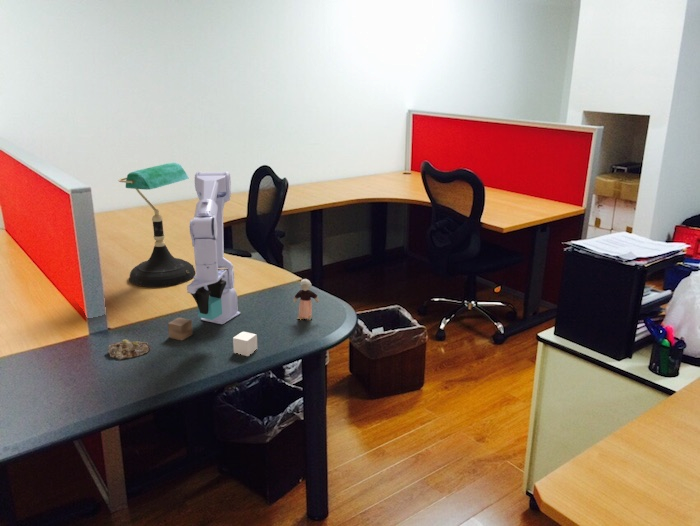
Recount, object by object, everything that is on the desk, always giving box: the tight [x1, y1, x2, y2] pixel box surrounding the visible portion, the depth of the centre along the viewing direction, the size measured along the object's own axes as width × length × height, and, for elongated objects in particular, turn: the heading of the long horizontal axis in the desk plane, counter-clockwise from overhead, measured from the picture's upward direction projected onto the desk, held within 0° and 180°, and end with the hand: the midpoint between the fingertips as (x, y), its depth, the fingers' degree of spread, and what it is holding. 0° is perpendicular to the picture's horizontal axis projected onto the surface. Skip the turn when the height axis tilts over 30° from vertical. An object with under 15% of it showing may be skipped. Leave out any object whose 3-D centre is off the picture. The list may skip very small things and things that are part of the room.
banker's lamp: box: [118, 162, 196, 288], centre depth 208 cm, size 26×23×40 cm
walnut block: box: [167, 317, 193, 341], centre depth 165 cm, size 4×4×4 cm
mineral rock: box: [107, 338, 151, 361], centre depth 156 cm, size 11×4×8 cm
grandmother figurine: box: [292, 278, 320, 321], centre depth 176 cm, size 8×4×13 cm, turn 99°
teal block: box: [196, 296, 222, 320], centre depth 158 cm, size 4×4×4 cm
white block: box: [232, 331, 258, 357], centre depth 156 cm, size 4×4×4 cm
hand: (209, 309), depth 158 cm, fingers closed on teal block, 4 cm apart
